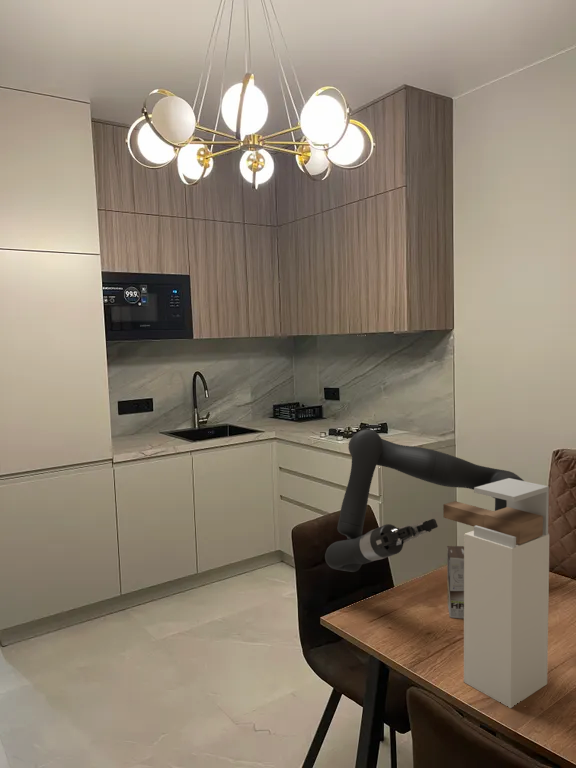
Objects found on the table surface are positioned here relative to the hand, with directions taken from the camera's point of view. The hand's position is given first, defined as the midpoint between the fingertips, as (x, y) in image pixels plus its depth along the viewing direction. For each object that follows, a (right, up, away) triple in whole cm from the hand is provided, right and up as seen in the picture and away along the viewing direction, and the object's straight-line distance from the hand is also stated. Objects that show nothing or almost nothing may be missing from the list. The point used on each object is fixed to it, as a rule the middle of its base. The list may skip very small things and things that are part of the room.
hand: (423, 526), depth 138 cm
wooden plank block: (+10, +3, -14) cm, 18 cm away
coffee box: (+14, -27, +17) cm, 34 cm away
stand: (+13, -29, -15) cm, 36 cm away
